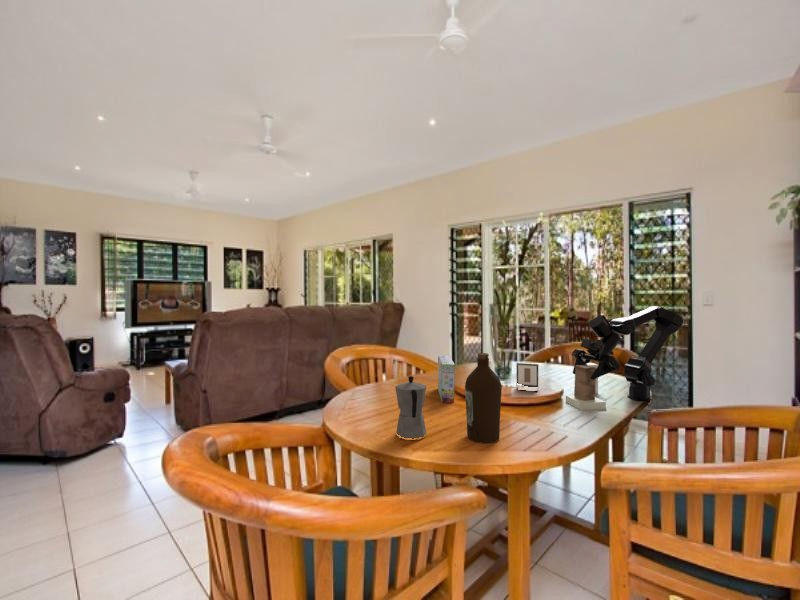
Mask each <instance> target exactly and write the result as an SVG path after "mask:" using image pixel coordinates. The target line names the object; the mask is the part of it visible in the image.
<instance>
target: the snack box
mask: <svg viewBox="0 0 800 600" xmlns="http://www.w3.org/2000/svg"><path fill="white" fill-rule="evenodd" d="M437 357H438V359H437V389H438V390H437V391H438V393H439V398H440V401H441V402H442V403H455V387H456V386H455V385H456V384H455V383H456V381H455V380H456V379H455V378H456V377H455V375H456V364H455V363H454V361H453V360H452V357H451V356H450V355H438V356H437Z"/></svg>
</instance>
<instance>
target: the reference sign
mask: <svg viewBox="0 0 800 600" xmlns="http://www.w3.org/2000/svg"><path fill="white" fill-rule="evenodd" d="M517 383H518V384H522V385H524V386H528V387H538V388H539V363H525V362H524V363H522V362H516V384H517Z"/></svg>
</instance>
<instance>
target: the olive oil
mask: <svg viewBox="0 0 800 600" xmlns="http://www.w3.org/2000/svg"><path fill="white" fill-rule="evenodd" d="M476 359H477V360H476V362H477V366H476V367H475V368H474V369H473V370H472V371H471V372H470V374H469V375H468V376H467V377H466V380H465V383H464V393H465V396H464V397H465V410H466V411H465V413H466V435H467V436H468V437H467V436H466V437H467V438H468V439H469V440H470V439H471V440H470V441H472V440H473V442H475V443H479V442H482V443H481V444H492V443H491V442H493V443H496V442H498V441H499V439H500V432H501V429H500V428H501V410H502V409H501V407H502V389H503V388H502V382H501V379H500V378H499V376H498V375H497V374H496V373H495V372H494V371H493V369H491V367H490V359H489V353H486V352H478V353H477V358H476ZM497 440H498V441H497ZM495 441H496V442H495Z"/></svg>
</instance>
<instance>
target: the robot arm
mask: <svg viewBox="0 0 800 600" xmlns="http://www.w3.org/2000/svg"><path fill="white" fill-rule="evenodd" d="M652 320H653V321H654V324H655V325H654V326H655V330H654V332H653V333H652V335H651V336H650V337H649V340H647V342H646V344H645V345H644V347H643V348H642V350H641V352H640V353H639V355H638V356H637V357H635V358H633V357H629V358H628V360H627V362H626V363H625V364H624V368H623V374H624V377H625V380H626V382H629V388H628V395H627V398H630V399H632V400H634V401H638V402H642V401H643V402H647V401H648V402H649V401H654V399H653V398H651V387H652V386H655V384H656V379H655V378H654V377H653V375H652V363H653V362H654V361H655V358H656V357H657V355H658V353H659V352H660V351H661V349H662V347H663V345H665V342H666V341H667V339H668V338H669V337H670V335H673V334H674V333H677V332H678V331H679V329H680V328H681V327H682V326H683V325H684V319H683V317H682V315H681V314H678V313H675V312H673V311H670V310H668V309H666V308H664V307H662V306H655V305H654V306H653V305H652V306H649V307H648V308H646V309H643V310H641V311H638V312H636V313H633V314H632V315H630V316H625V317H617V318H614V319H611V320H610V321H609V320H608V319H607V318H606V315H604V314H599V315H598V316H596V317H594V318H592V319H590V320H589V321H588V327H589V328H590V329H591V331H592V332H593V333H594V334H595V335H596V336H597V337H598V338H600V339H597V338H595V340H593V339H589V338H582V340H581V343H580V347H581V348H584V349H585V350H584V349H579V348H575V349H574V350H573V351H572V355H573V357H574V359H575V361H574V365H573V366H574V367H573V370H572V374H573V375H575V365H587V363H591V362H596V363H598V364H597V365H598V367H597V368H596V370H595V371H594V373H593V374H592V376H591V379H592V380H594V379H596V378H598V379H599V378H600V377H602V376H605V375H608V374H611V373H615V372H619V370H620V369H621V363H620V362H619V361H618V359H616V357H615V356H613V355H614V350H615V349H616V347H617V346H618V345H623V346H624V345H625V341H624V337H622V336H620V335H623V336H628V335H631V333H634V331H636V329H637V327H639V326H641V325H644V324H645V323H648V322H651V321H652ZM588 353H589V354H588Z"/></svg>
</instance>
